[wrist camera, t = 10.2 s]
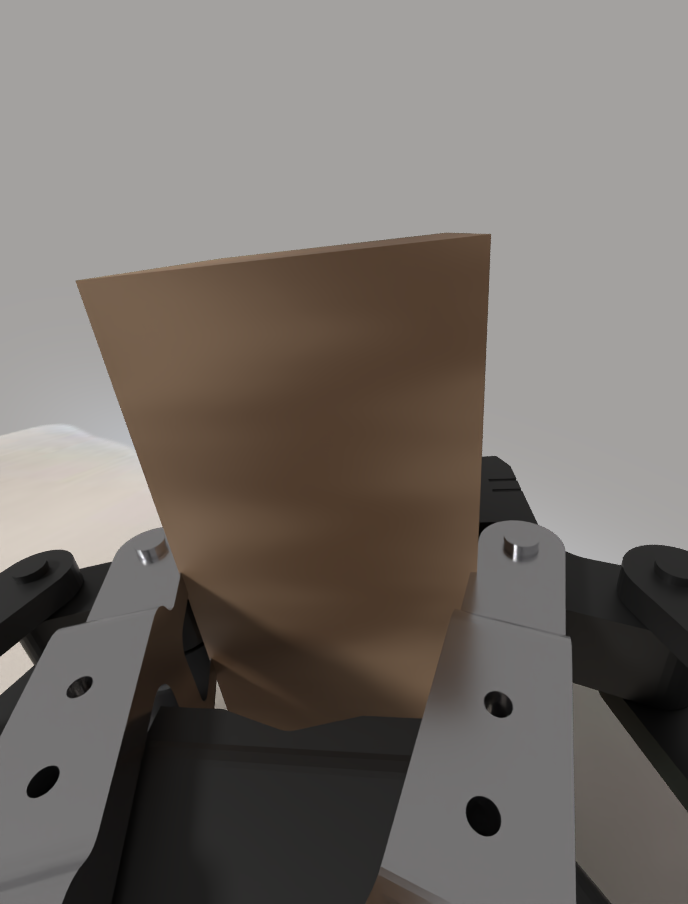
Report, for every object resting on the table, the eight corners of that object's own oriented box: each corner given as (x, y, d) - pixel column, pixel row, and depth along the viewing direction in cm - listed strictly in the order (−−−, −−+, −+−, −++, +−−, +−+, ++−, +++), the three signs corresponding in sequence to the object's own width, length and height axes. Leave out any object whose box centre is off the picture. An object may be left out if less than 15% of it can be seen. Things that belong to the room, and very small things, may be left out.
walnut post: (268, 825, 10) (75, 280, 5) (305, 658, 14) (221, 258, 9) (466, 842, 10) (491, 234, 4) (446, 661, 13) (446, 232, 8)
